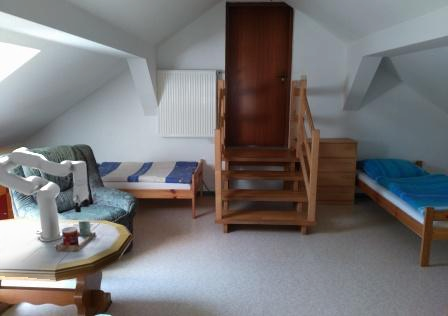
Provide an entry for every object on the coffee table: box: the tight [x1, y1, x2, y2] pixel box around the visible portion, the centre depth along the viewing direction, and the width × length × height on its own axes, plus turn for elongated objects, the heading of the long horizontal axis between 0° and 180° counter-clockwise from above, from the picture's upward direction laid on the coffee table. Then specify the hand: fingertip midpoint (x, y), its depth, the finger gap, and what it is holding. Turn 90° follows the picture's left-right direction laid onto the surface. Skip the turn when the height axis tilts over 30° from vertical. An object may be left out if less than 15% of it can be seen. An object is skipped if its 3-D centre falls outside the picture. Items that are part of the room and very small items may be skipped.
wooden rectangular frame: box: [54, 219, 97, 253], centre depth 204 cm, size 12×23×9 cm, turn 174°
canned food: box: [61, 226, 80, 246], centre depth 198 cm, size 8×8×11 cm
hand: (82, 209), depth 211 cm, fingers open, 9 cm apart
